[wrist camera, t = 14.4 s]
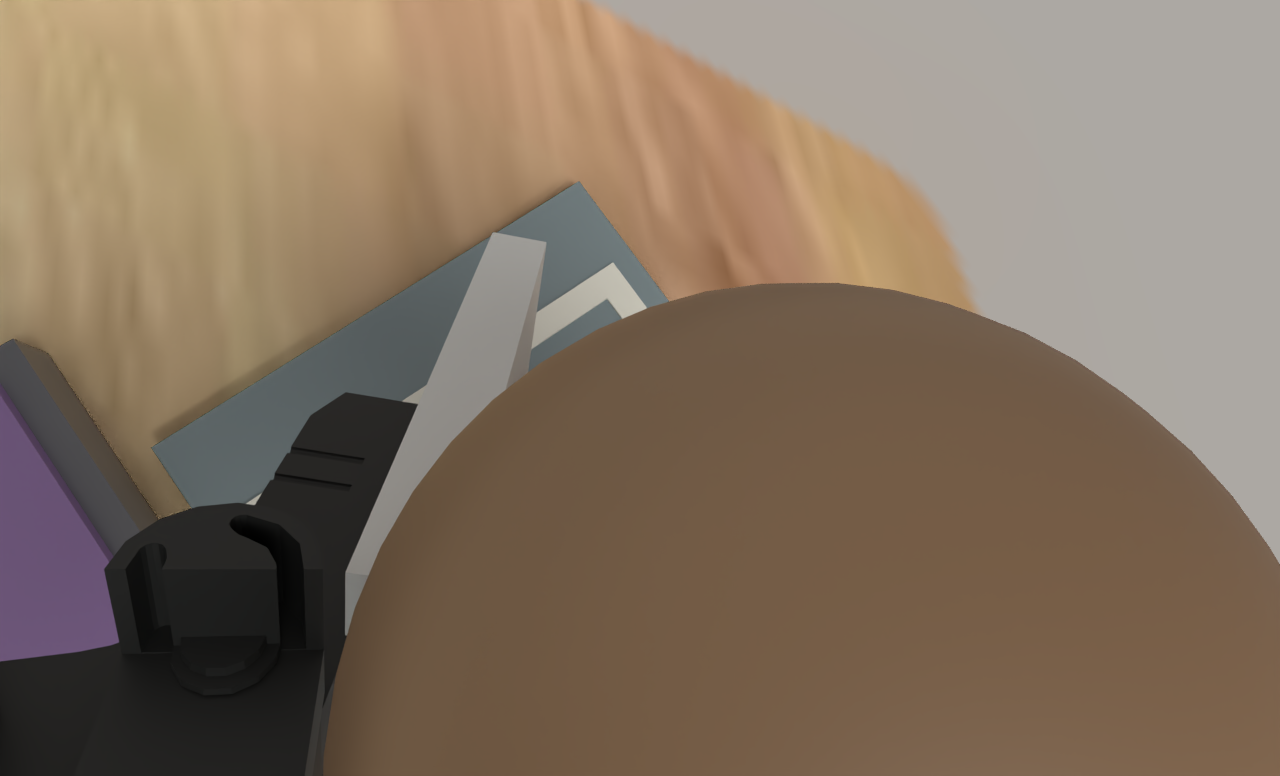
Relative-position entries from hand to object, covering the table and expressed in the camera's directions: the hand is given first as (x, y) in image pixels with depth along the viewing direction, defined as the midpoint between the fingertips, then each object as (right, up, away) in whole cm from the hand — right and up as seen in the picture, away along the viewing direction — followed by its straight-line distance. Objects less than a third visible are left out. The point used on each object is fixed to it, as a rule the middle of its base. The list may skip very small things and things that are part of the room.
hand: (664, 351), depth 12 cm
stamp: (-1, -5, +3) cm, 6 cm away
